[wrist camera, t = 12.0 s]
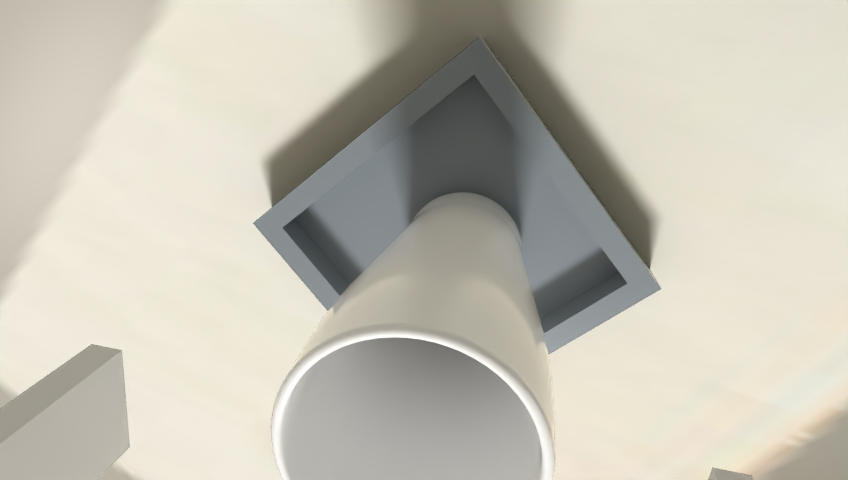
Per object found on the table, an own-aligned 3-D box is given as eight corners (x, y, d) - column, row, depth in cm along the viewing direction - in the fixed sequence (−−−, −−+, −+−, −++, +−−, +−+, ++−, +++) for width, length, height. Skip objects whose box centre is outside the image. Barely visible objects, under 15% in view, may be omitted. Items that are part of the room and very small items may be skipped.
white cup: (365, 228, 28) (207, 419, 14) (478, 142, 26) (430, 263, 11) (451, 333, 29) (388, 611, 15) (567, 259, 27) (622, 500, 13)
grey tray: (482, 37, 25) (478, 37, 23) (650, 270, 27) (661, 289, 25) (272, 210, 29) (252, 223, 27) (432, 400, 31) (426, 425, 29)
